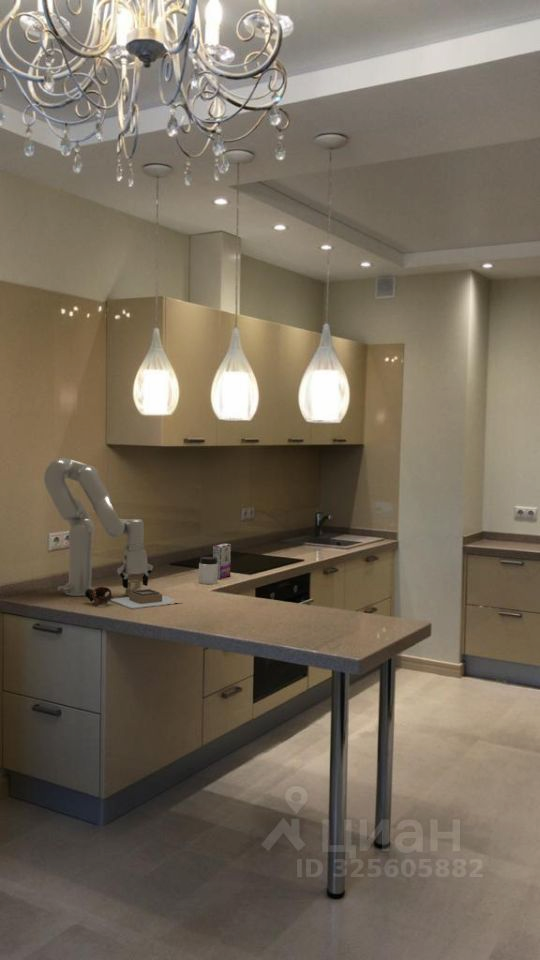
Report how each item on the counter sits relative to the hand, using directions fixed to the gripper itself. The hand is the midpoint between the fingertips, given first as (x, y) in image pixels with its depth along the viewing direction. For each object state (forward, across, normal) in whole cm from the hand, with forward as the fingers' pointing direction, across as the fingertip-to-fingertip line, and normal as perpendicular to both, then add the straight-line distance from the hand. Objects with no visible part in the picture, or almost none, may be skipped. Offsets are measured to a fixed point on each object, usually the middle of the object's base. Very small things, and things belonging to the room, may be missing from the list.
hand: (135, 586), depth 367 cm
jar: (+5, +45, +10) cm, 47 cm away
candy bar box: (+5, +59, +20) cm, 63 cm away
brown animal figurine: (+4, -23, -10) cm, 25 cm away
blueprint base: (+4, -4, -16) cm, 16 cm away
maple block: (+4, -1, 0) cm, 4 cm away
